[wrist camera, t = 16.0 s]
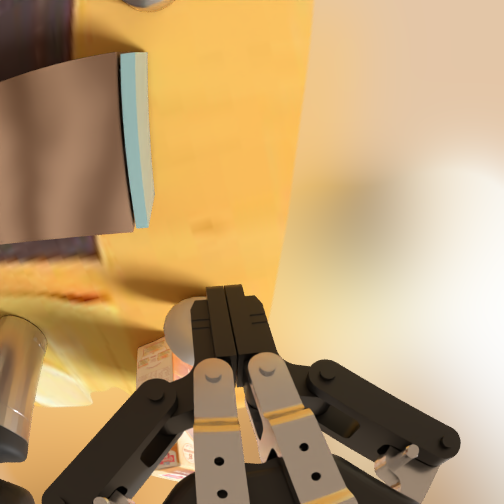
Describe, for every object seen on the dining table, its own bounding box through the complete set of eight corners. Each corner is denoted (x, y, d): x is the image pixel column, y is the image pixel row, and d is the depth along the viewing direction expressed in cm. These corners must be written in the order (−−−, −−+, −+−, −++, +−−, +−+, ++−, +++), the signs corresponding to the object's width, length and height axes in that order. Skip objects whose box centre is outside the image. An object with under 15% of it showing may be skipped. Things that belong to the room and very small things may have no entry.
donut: (163, 306, 38) (162, 373, 30) (165, 286, 36) (164, 355, 28) (237, 312, 41) (251, 375, 33) (244, 293, 39) (260, 359, 31)
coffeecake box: (226, 373, 50) (245, 479, 35) (192, 385, 51) (204, 487, 36) (173, 331, 41) (181, 467, 26) (135, 347, 42) (134, 473, 27)
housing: (4, 212, 25) (-22, 246, 20) (-21, 92, 17) (-60, 109, 12) (142, 195, 29) (133, 232, 23) (133, 51, 20) (115, 52, 15)
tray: (11, 211, 25) (-13, 243, 21) (-14, 91, 17) (-50, 106, 13) (154, 194, 28) (148, 227, 24) (147, 52, 20) (135, 52, 16)
